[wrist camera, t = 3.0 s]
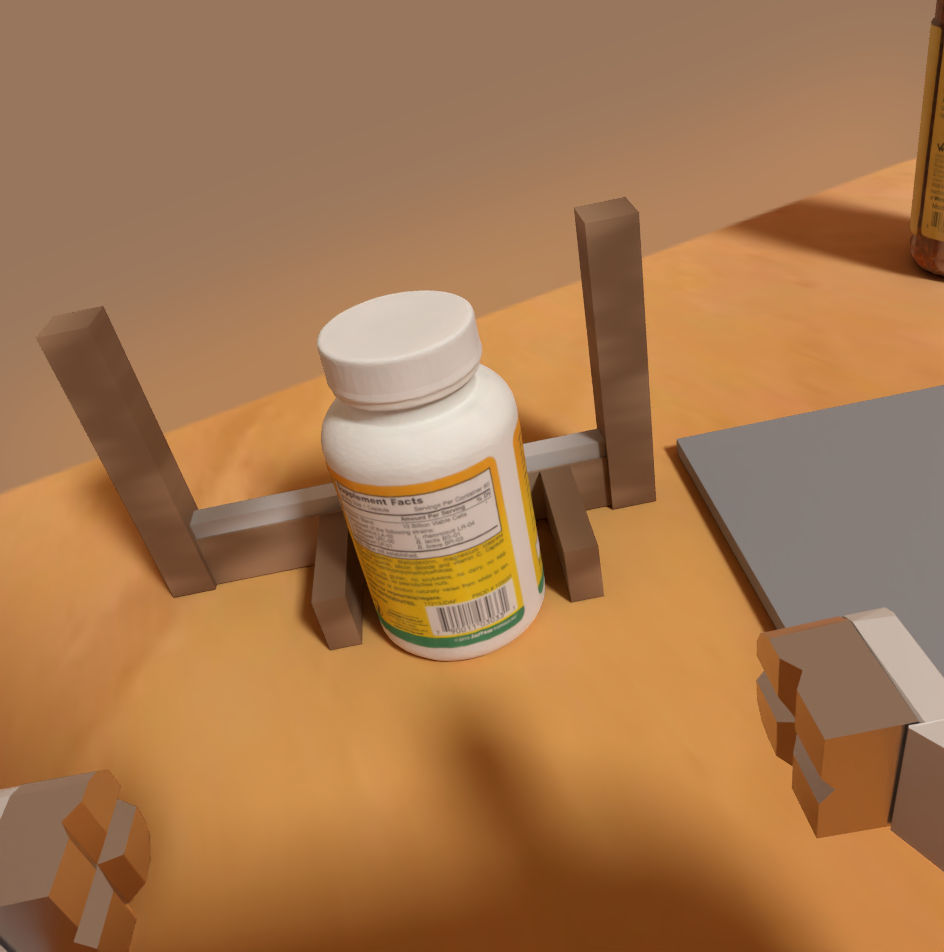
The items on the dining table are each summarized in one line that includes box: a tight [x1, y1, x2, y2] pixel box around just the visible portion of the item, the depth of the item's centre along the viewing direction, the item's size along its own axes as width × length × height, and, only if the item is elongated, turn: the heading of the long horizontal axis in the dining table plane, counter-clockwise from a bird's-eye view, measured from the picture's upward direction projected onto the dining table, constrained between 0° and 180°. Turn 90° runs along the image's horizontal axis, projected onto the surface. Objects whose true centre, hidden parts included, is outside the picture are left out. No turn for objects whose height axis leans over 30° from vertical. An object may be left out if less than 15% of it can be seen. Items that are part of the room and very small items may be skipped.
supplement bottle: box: [317, 291, 545, 661], centre depth 23 cm, size 5×5×10 cm
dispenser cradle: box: [36, 197, 656, 650], centre depth 24 cm, size 17×6×10 cm, turn 96°
